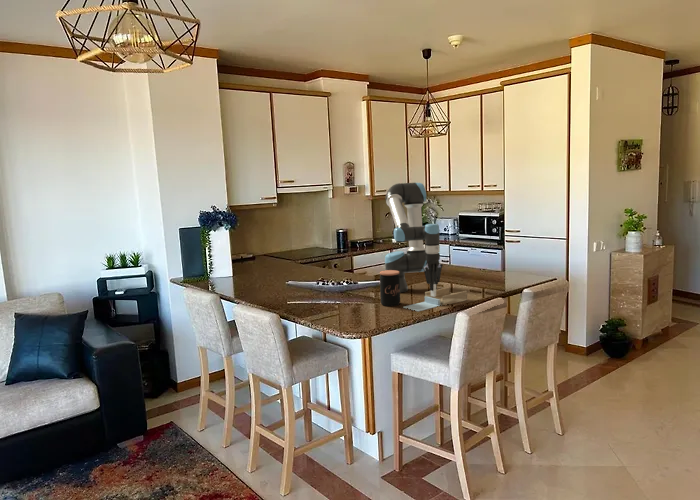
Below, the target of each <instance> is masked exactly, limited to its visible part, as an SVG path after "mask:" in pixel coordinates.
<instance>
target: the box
mask: <svg viewBox="0 0 700 500" xmlns="http://www.w3.org/2000/svg"><path fill="white" fill-rule="evenodd" d="M426 296H428V297H432V298H436V299H440V305H441V306H443V305H445V306H447V304H449V305H452V304H457V303H461V302H464V301H468V291H467V290H464V291H458V292H455V293H453V292H450V287H449V286H447V287H443V288H442V287H441V288H439V289H437V290H436V296H435V297H434V296H431V290H429V291H425V292H424V298H425V297H426Z"/></svg>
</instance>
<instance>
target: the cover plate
mask: <svg viewBox="0 0 700 500" xmlns="http://www.w3.org/2000/svg"><path fill="white" fill-rule="evenodd" d="M437 306H438V307H441V306H440V299H436V298H432V297H428V296H426V297H425V296H424V301H422V302H418V303H414V304H413V303H412V304H409V305H406V306H402V308H403V309H407V308H408V309H407V310H410V309H411V311H414V310H415V312H421V311H426V310H431V309H433V308H434V309H435V308H437Z"/></svg>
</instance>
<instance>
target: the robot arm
mask: <svg viewBox="0 0 700 500" xmlns="http://www.w3.org/2000/svg"><path fill="white" fill-rule="evenodd" d="M426 201H427V192H426V188H425V185H424V184H423V183H422V182H404V183H403V182H402V183H395V184H393V185H392V186H390V187H389V189H387V192H386V194H385V203H386V205H387V206H388V207H389V209H390V214H391V217H392V221H393V222H394V226H395V228H394V229H393V239H394V241H396V242H408V249H406V253H405V252H404V251H403V250H402V251H392V252H388V253H387V254H386V255H385V256H384V269H385V270H396V271H399V276H400V294H401V293H406V292H408V291H409V287H408V283H407V281H406V277H405V274H407V273H409V274H410V273H421V272H422V273H423V272H424V275H425V281H426V284H428V285H429V291H431V296H434V297H435V296H436V290H438V289H437V288H438V287H437V286H438V285H439V283H440V282H441V281H440V280H441V275H442V268H443V267H444V264H443V263H442V264H441V263H440V260H441V256H440V255H441V253H440V252H441V251H440V231H441V230H440V225H439V224H437V223H426V224H425V225H423V218H422V216H423V215H422V213H423V212H422V207H423V206H424V204H425V203H424V202H426ZM403 204H404V205H403ZM404 207H405V208H406V211H407V215H406V212H405V208H404ZM424 241H425V243H424ZM424 245H425V246H424ZM385 270H384V271H385Z"/></svg>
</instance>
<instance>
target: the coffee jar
mask: <svg viewBox="0 0 700 500" xmlns="http://www.w3.org/2000/svg"><path fill="white" fill-rule="evenodd" d="M379 289H380V290H379V292H380V295H379V296H380V303H381V305H382V306H384V307H397V306H399V305H400V303H401V293H400V276H399V271H396V270H381V271H380V272H379Z"/></svg>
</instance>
